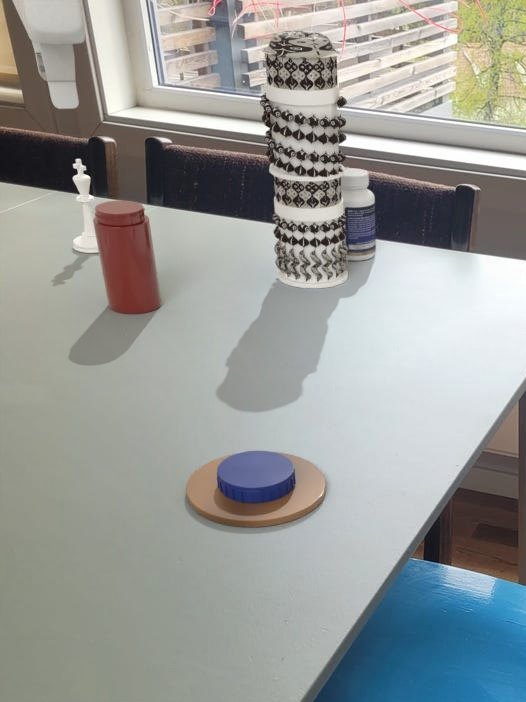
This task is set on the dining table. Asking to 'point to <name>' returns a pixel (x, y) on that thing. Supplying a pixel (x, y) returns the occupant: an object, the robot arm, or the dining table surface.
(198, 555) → the dining table surface
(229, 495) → the lid
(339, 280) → the decorative candle
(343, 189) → the pill bottle
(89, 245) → the chess piece
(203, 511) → the coaster
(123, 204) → the jar
